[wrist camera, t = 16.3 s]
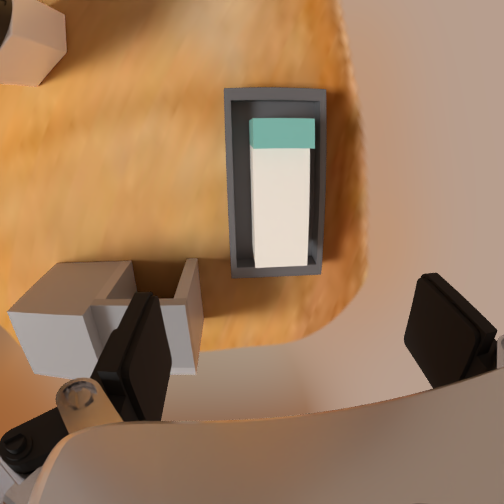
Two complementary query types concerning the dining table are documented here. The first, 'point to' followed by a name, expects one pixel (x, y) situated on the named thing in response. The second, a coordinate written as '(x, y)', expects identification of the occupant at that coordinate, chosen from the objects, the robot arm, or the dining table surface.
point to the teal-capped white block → (280, 189)
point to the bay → (99, 317)
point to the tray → (238, 171)
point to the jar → (29, 41)
